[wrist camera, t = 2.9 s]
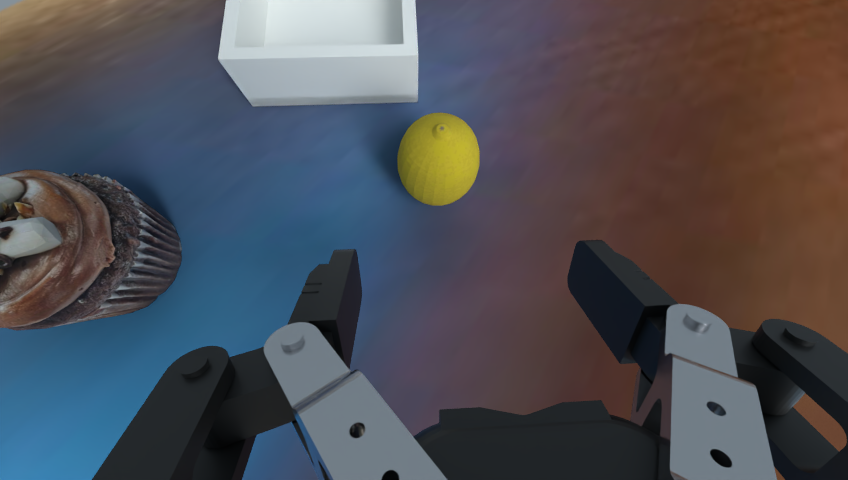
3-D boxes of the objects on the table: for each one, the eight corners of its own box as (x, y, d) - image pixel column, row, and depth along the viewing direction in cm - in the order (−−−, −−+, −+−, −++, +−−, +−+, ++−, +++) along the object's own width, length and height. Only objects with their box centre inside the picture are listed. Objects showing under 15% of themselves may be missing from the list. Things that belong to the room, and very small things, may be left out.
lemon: (415, 147, 27) (415, 74, 19) (478, 170, 26) (504, 105, 19) (389, 204, 26) (377, 151, 18) (455, 230, 25) (472, 187, 17)
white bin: (252, 106, 28) (218, 59, 23) (265, -19, 31) (237, -83, 26) (417, 102, 28) (418, 55, 23) (411, -21, 32) (410, -84, 27)
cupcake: (222, 241, 24) (95, 185, 15) (126, 356, 22) (-97, 379, 13) (128, 178, 26) (-46, 88, 16) (28, 282, 23) (-246, 250, 14)
